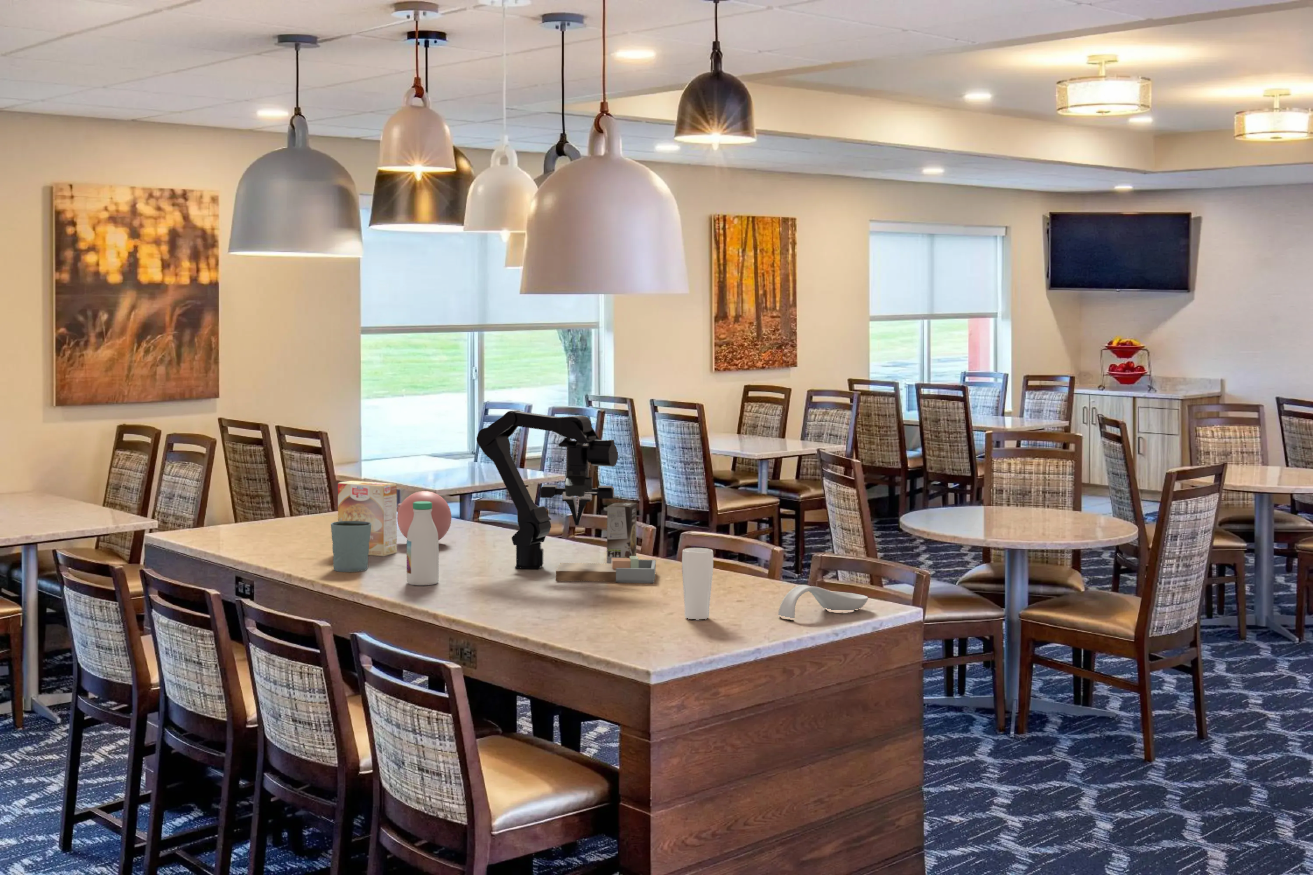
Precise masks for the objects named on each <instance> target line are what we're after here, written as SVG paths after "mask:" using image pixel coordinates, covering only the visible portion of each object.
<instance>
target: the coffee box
mask: <svg viewBox="0 0 1313 875" xmlns="http://www.w3.org/2000/svg"><path fill="white" fill-rule="evenodd" d="M637 508H638V506H637V502H614V503H612V504H609V505H607V511H606V512H607V516H606V517H607V518H606V519H607V520H606V529H607V530H606V563H608V564H611V558H630V556H637V525H638V524H637V518H638V517H637V516H638V514H637V513H638V511H637V510H638V509H637Z"/></svg>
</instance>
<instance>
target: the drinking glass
mask: <svg viewBox="0 0 1313 875" xmlns="http://www.w3.org/2000/svg"><path fill="white" fill-rule="evenodd" d="M681 554H682V555H681V572H682V573H681V574H682V575H681V576H682V585H683V586H682V587H683V602H684V617H685V619H687V618H688V619H687V620H689V619H696V620H695V621H700V620H699V619H705V620H708V619H709V617H710V605H711V604H710V603H711V594H712V592H711V591H712V586H713V584H712V583H713V574H714V573H713V572H714V551H713V549H711V548H706V547H688V548H683V549H682V553H681ZM707 618H708V619H707Z"/></svg>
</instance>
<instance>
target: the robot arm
mask: <svg viewBox="0 0 1313 875" xmlns="http://www.w3.org/2000/svg"><path fill="white" fill-rule="evenodd" d="M518 427H522V428H527V429H534V430H540V431H541V430H542V431H548V432H553V433H556V434H557V435H558V436H561V437H564V439H562V441H561V442H560V443H559V444H558V445H557V446H558V447H560V448H566V450H565V452H566V454H565V456H566V458H565V460H566V461H565V462H566V464H565V466H566V468H565V469H566V470H565V476H566V477H565V479H564V480H565V481H564V487H558V485H557V484H543V485H542V486H541V487H540V488H539V498H542V499H552V498H554V496H562V499H561V500H562V502H566V504H567V505H568V508H569V510H570V512H571V515H572V519H573V522H574V525H575V526H580V522H581V519H582V516H583V512H584V509H585V508H586V505H587V503H588V502H589V503H590V502H592V500H593V496H594V497H595V496H598V498H599V499H601V500H603V499H604V500H607V499H608V500H612V499H614V497H615V488H614V486H613V485H598V487H597V488H593V484H594V483H593V477H592V476H589V468H590V467H589V463H590V465H592V466H593V467H594V466H595V467H596V466H597V467H612V468H613V467H615V466H616V465H617V462H618V459H619V452H618V449H617V446H616V444H615V439H601V438H600V437H599V436H598V434H597V432H596V431H595V429H594V427H593V424H592V421H591V420H590V418H589V417H588V416H586V415H569V416H568V415H567V416H557V415H555V416H554V415H547V414H542V413H541V414H540V413H539V414H538V413H533V412H525V411H521V410H519V409H517V410H516V409H515V410H508V411H507V412H506V413H505V414H504V415H502V416H501V417H500V418H498V419H497V420H495V421H494V422H492V423H491V424H490V425H488V426H487V427H483V428H481V429H480V430H479V431H478V433H477V436H476V443H477V445H478V446H479V448H480V450H481V451H482V452H483V454H484V455H485V456H486V457H487V458H488V459H490V460H491V461H492V462H493V463H494V466H495V468H496V469H497V472H498V474H499V475H500V478H501V480H502V482H503V484H504V487H505V489H506V490H507V492H508V495H509V496H510V498H511V502H513V505H514V507H515V509H516V511H517V512H516V513H517V516H516V518H517V524H518V528H519V529H518V531H516V532H515V533H514V534H513V535H512V536H511V542H512V545H513V546H516V547H515V549H516V550H515V562H516V563H515V565H514V569H530V570H531V569H537V570H539V569H541V568H542V566H543V565H544V556H545V555H544V551H545V550H544V548H543V547H542V543H544V542H545V540H546V538H547V535H549V533H550V531H551V528H552V523H551V521H552V518H551V517H550V516H549V514H548V511H547V509H546V507H545V506H544V505H542V506H538V505H536V503H535V502H534V501H533V499H532V496H531V494H530V492H529V490H528V488H527V486H526V483H524V480H523V478H522V475H521V474H520V472H519V470H518V468H517V465H516V464H515V461H514V460H513V457H512V454H511V443H510V439H509V437H511V436H512V435H513V434H514V433H515V432H516V430H517V429H518ZM576 497H579V500H578V507H577V501H576V500H577V499H576ZM577 508H578V509H577Z"/></svg>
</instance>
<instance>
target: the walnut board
mask: <svg viewBox="0 0 1313 875" xmlns="http://www.w3.org/2000/svg"><path fill="white" fill-rule="evenodd" d="M555 581H556V582H598V583H599V582H605V583H606V582H607V583H608V582H609V583H616V569H612V566H611V564H608V563H607V562H606V563H605V562H603V563H602V562H601V563H599V562H598V563H597V562H596V563H594V562H560V563H559V565H558V567H557V568H556V570H555Z"/></svg>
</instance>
